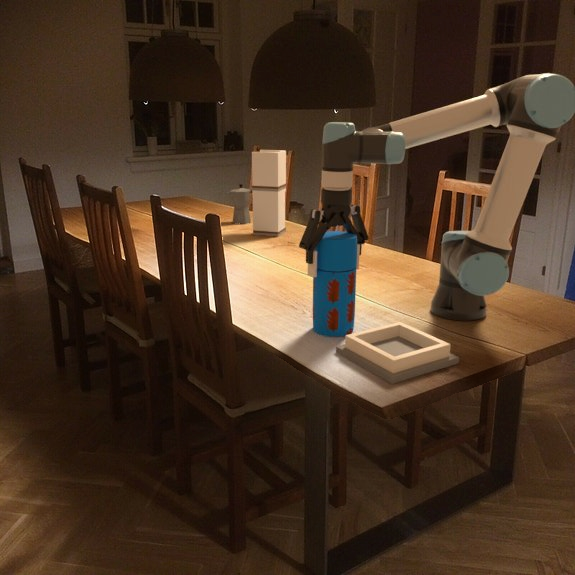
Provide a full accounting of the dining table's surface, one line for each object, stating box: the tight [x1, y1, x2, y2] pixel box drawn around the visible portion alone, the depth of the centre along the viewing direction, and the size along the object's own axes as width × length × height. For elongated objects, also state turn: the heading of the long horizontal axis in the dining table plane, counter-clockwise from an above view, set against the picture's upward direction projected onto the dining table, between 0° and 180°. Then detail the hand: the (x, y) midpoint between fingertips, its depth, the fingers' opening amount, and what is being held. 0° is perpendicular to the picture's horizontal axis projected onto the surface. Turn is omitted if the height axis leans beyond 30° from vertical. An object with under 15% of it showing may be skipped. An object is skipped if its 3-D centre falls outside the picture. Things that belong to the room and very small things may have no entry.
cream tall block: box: [251, 149, 287, 238], centre depth 269 cm, size 11×11×35 cm
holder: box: [335, 321, 460, 385], centre depth 146 cm, size 20×20×4 cm
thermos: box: [312, 230, 357, 338], centre depth 161 cm, size 11×11×25 cm
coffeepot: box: [227, 183, 253, 225], centre depth 294 cm, size 15×9×18 cm, turn 117°
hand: (333, 272), depth 160 cm, fingers open, 13 cm apart
